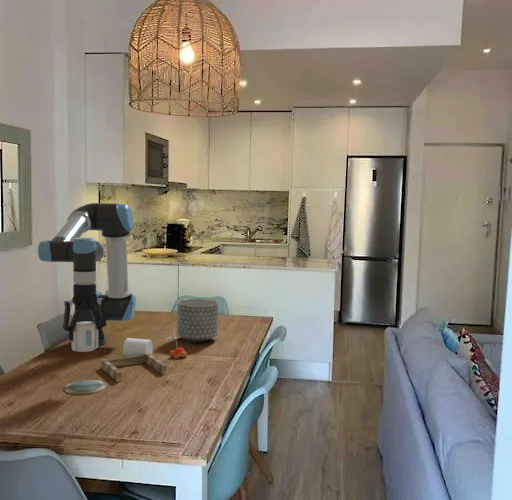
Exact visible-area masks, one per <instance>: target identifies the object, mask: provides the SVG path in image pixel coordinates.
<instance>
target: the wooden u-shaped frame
mask: <svg viewBox="0 0 512 500" xmlns="http://www.w3.org/2000/svg"><path fill="white" fill-rule="evenodd" d="M145 363H146V364H147V365H149V366H150V367H151V368H152V369H154V370H155V371H157V372H158V373H160V374H161V375H167V364H166V363H164V362H163V361H162V360H160V359H158V358H157V357H156V356H154V355H153V354H152V355H151V354H149V353H145V355H138V356H131V357H125V356H123V357H117V358H112V359H107V358H101V369H102V370H103V371H104V372H105V373H106V374H107V375H109V376H110V377H111V378H112V379H113V380H114V381H115V382H116V383H120V382H121V383H122V371H121V370H120V369H119V367H124V366H125V367H127V366H130V365H137V364H138V365H139V364H145Z"/></svg>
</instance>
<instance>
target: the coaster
mask: <svg viewBox="0 0 512 500" xmlns="http://www.w3.org/2000/svg"><path fill="white" fill-rule="evenodd" d="M106 388H107V384H106V382H104V381H103V380H98V379H82V380H77V381H76V380H75V381H72V382H69V383H67V384H66V385H65V386H64V387H63V391H64V393H65V392H66V393H67V394H70V395H77V396H85V395H92V394H96V393H99V392H102V391H103V390H105V389H106Z"/></svg>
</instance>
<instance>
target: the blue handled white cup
mask: <svg viewBox="0 0 512 500" xmlns="http://www.w3.org/2000/svg"><path fill="white" fill-rule="evenodd" d="M74 331H75V332H76V351H75V352H80V353H87V352H92V351H95V350H96V349H97V348H96V323H95V322H90V321H84V322H77V323H76V325H75V328H74Z"/></svg>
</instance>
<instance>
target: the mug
mask: <svg viewBox="0 0 512 500" xmlns="http://www.w3.org/2000/svg"><path fill="white" fill-rule="evenodd" d="M153 346H154V345H153V341H152V340H151V339H145V338H131V337H128V338H126V339H125V340H124V342H123V346H122V353H123V357H131V356H138V355H145V353H149V354H151V355H152V356H153V350H154V347H153Z"/></svg>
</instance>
